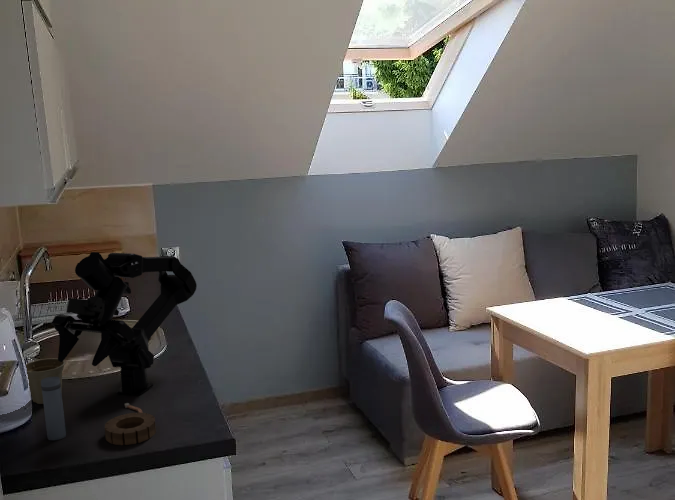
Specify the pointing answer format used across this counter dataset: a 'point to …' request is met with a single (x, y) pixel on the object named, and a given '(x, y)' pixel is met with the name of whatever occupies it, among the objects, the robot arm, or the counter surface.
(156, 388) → the counter surface
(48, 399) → the dark grey capped cylinder
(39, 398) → the flower pot
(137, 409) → the lace
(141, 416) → the brown segmented ring
